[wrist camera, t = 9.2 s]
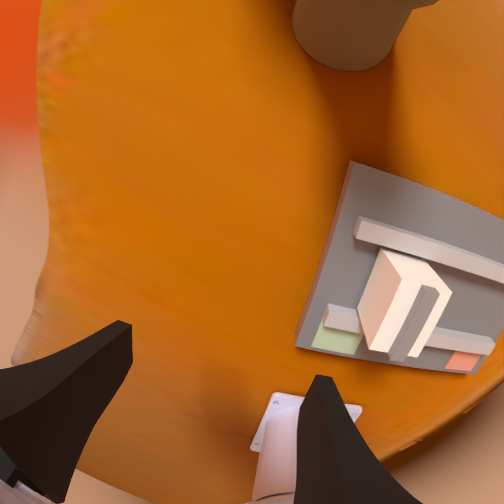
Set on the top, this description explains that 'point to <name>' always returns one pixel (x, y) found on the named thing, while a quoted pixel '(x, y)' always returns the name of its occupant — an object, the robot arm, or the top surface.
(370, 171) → the switch panel
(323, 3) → the pepper mill
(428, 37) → the top surface
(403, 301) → the block
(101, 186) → the top surface
